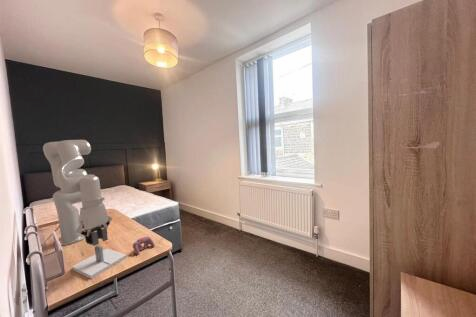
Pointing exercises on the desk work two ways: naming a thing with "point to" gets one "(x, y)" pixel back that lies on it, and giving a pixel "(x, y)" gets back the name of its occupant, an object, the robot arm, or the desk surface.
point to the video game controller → (144, 240)
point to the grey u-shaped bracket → (98, 234)
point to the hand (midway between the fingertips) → (97, 239)
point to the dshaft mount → (98, 262)
